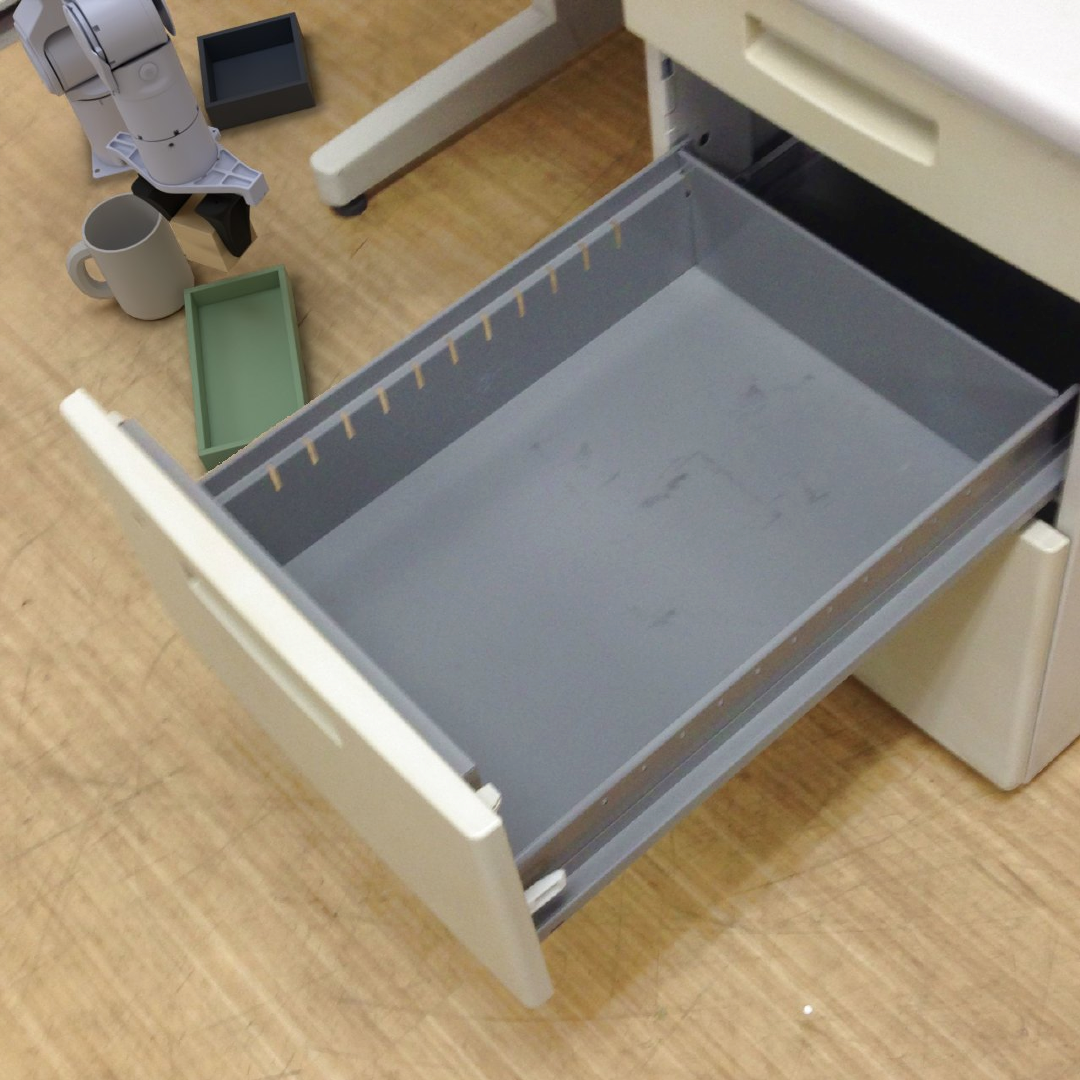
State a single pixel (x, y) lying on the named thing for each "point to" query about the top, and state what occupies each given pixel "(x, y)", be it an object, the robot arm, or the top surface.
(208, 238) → the block
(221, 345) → the tray
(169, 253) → the cup
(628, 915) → the top surface
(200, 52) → the dark grey open box
